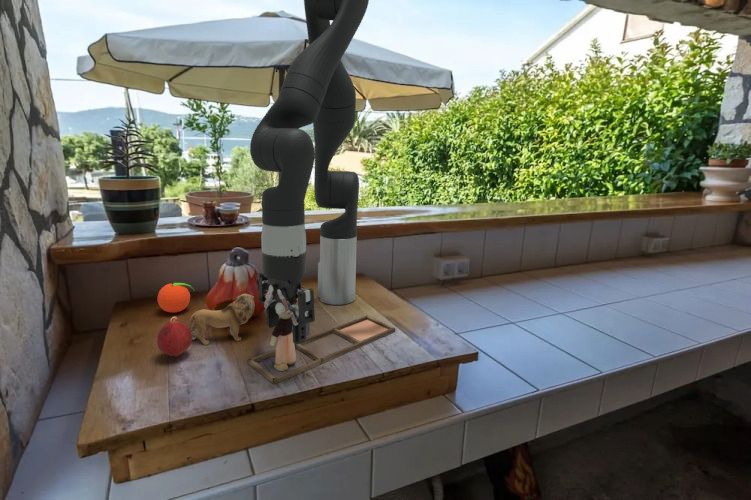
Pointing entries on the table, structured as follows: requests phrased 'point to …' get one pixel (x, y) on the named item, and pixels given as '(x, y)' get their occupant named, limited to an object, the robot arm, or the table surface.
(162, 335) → the red oval fruit
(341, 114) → the robot arm
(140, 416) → the table surface
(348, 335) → the board
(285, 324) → the grandmother figurine
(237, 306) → the lion figurine
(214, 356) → the table surface
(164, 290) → the clementine
